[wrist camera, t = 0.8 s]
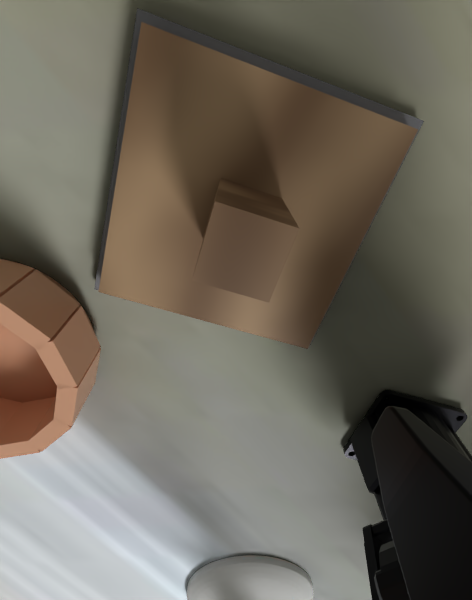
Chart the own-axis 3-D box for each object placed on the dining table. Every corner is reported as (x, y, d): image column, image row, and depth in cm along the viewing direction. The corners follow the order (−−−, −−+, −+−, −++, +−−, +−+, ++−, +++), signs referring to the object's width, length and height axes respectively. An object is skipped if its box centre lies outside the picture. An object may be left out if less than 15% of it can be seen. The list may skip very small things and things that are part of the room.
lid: (408, 128, 16) (495, 134, 11) (304, 339, 21) (327, 413, 16) (147, 27, 14) (95, -26, 9) (104, 283, 20) (55, 346, 14)
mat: (417, 120, 16) (423, 120, 16) (307, 342, 22) (308, 347, 22) (140, 12, 15) (137, 8, 14) (98, 284, 20) (94, 289, 20)
